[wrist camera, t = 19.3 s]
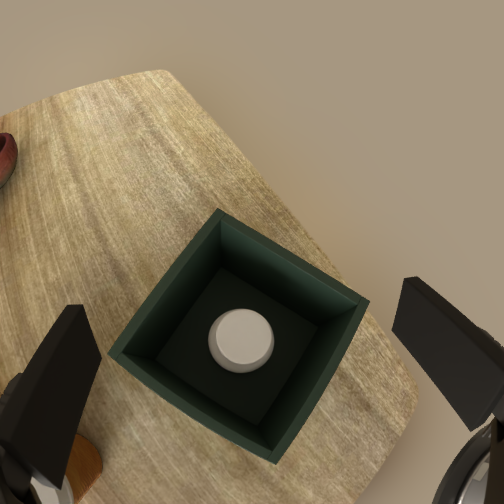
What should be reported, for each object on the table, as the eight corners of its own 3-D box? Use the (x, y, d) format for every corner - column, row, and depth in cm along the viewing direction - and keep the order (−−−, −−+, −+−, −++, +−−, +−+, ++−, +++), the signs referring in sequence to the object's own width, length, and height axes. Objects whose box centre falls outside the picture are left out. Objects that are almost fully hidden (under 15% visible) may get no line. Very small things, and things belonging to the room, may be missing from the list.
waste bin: (325, 325, 31) (370, 301, 21) (258, 434, 25) (276, 465, 16) (219, 259, 33) (217, 207, 23) (146, 361, 27) (106, 353, 18)
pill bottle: (232, 383, 27) (236, 388, 19) (200, 340, 28) (190, 328, 20) (275, 351, 28) (295, 342, 20) (243, 310, 30) (250, 285, 22)
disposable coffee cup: (33, 447, 21) (-31, 460, 10) (70, 402, 24) (3, 407, 13) (89, 506, 19) (39, 545, 8) (132, 466, 22) (86, 506, 12)
